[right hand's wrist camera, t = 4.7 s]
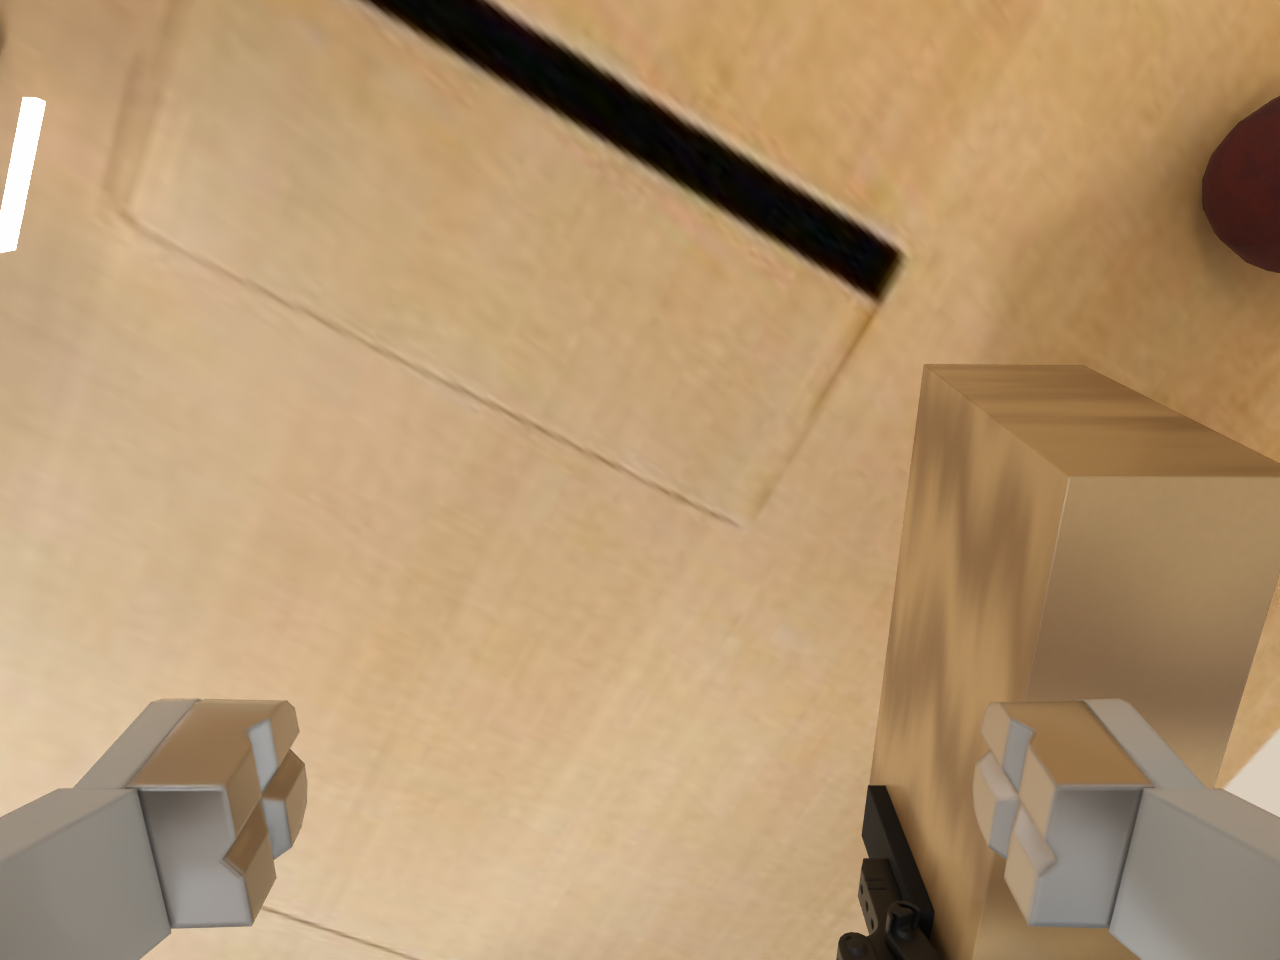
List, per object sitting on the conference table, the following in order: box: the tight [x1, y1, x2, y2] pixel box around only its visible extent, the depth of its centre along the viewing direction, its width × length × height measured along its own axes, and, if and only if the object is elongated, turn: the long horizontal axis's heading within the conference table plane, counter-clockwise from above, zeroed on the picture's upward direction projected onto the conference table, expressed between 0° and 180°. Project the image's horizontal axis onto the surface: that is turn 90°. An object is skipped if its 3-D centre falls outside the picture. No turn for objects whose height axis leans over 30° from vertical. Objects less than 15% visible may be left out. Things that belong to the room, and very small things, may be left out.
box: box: [870, 364, 1280, 960], centre depth 31 cm, size 22×6×12 cm, turn 179°
